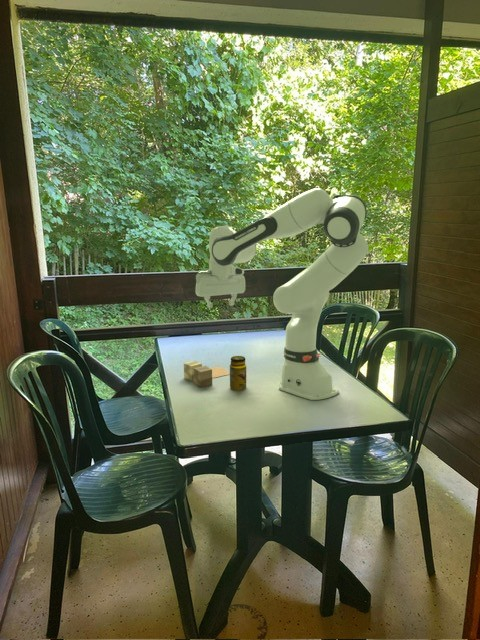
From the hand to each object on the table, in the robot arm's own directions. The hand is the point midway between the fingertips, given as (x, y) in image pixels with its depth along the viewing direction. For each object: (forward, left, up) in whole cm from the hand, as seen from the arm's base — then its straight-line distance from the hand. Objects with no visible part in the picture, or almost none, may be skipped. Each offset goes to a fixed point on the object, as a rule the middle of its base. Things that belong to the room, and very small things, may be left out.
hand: (220, 306), depth 165 cm
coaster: (+5, +1, -28) cm, 29 cm away
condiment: (-14, +3, -29) cm, 32 cm away
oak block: (+4, +11, -28) cm, 30 cm away
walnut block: (-4, +11, -28) cm, 30 cm away
